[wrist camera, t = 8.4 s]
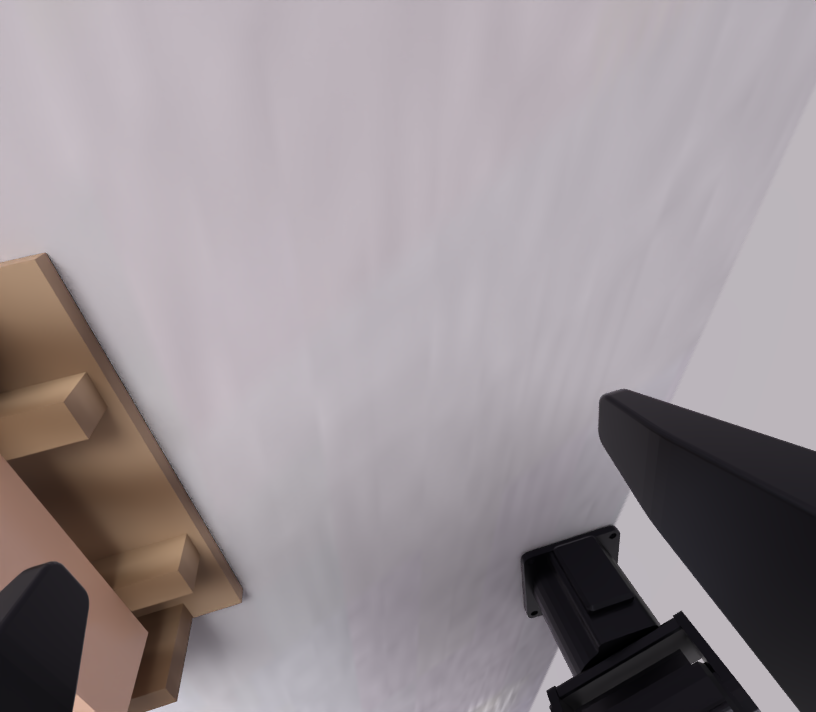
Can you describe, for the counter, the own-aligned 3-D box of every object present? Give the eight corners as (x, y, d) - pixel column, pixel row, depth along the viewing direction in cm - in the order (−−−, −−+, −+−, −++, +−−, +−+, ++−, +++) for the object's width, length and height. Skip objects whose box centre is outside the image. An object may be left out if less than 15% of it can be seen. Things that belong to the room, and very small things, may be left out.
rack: (242, 589, 25) (233, 683, 21) (50, 648, 24) (1, 760, 20) (45, 252, 16) (-41, 305, 12) (-287, 326, 15) (-512, 414, 11)
